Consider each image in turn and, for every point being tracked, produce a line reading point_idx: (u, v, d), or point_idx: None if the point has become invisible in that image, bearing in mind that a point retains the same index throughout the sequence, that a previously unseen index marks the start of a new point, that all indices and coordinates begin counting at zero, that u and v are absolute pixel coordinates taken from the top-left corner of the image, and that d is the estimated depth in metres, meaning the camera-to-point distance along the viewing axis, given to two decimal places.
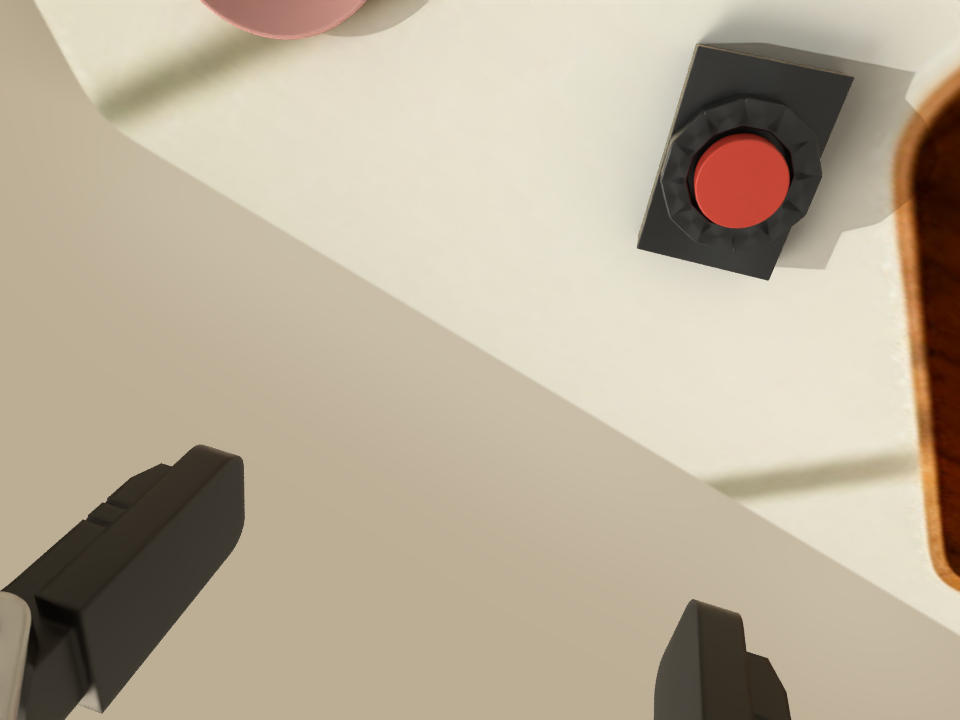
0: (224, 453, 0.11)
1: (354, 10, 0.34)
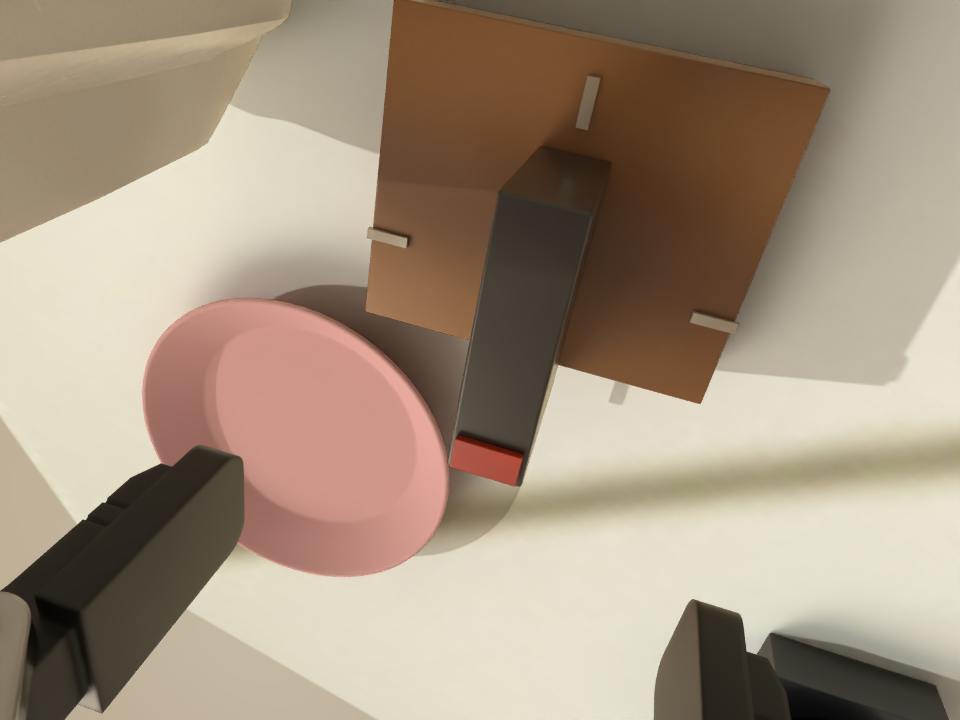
0: (224, 453, 0.11)
1: (387, 569, 0.30)
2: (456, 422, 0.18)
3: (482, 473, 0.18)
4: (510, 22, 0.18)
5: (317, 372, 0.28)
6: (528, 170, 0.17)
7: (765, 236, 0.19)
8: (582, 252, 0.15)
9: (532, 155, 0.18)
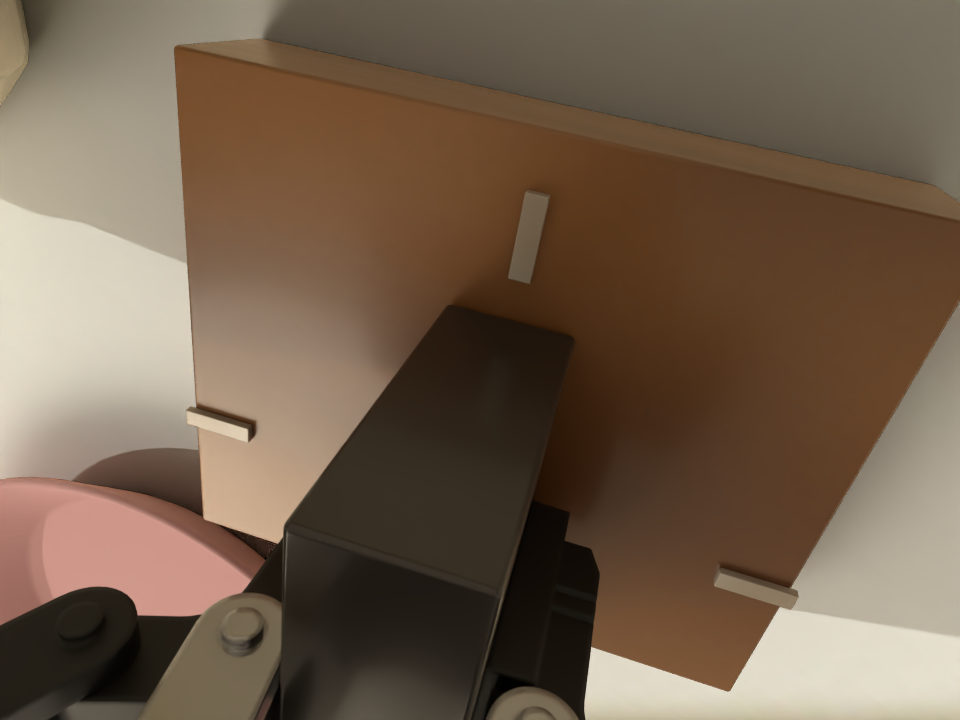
0: None
1: None
2: None
3: None
4: (381, 92, 0.10)
5: (173, 559, 0.20)
6: (393, 407, 0.08)
7: (852, 469, 0.11)
8: (484, 657, 0.06)
9: (421, 342, 0.10)
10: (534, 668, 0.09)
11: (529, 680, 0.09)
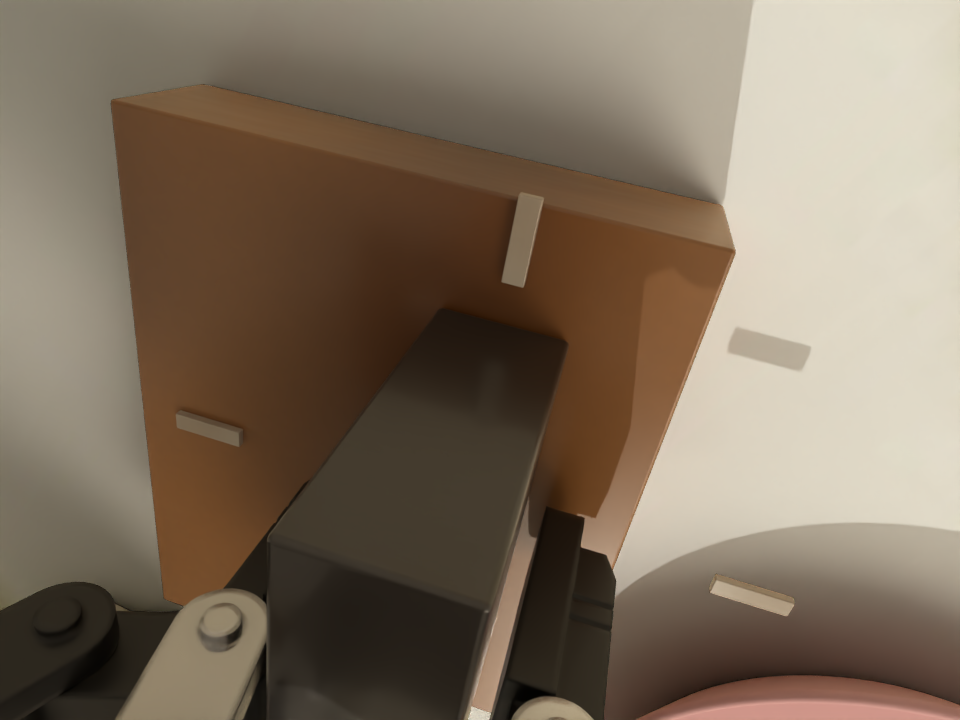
0: None
1: None
2: None
3: None
4: (154, 497, 0.15)
5: None
6: (383, 414, 0.08)
7: (345, 164, 0.10)
8: (473, 671, 0.06)
9: (412, 347, 0.09)
10: (554, 677, 0.09)
11: (549, 690, 0.08)
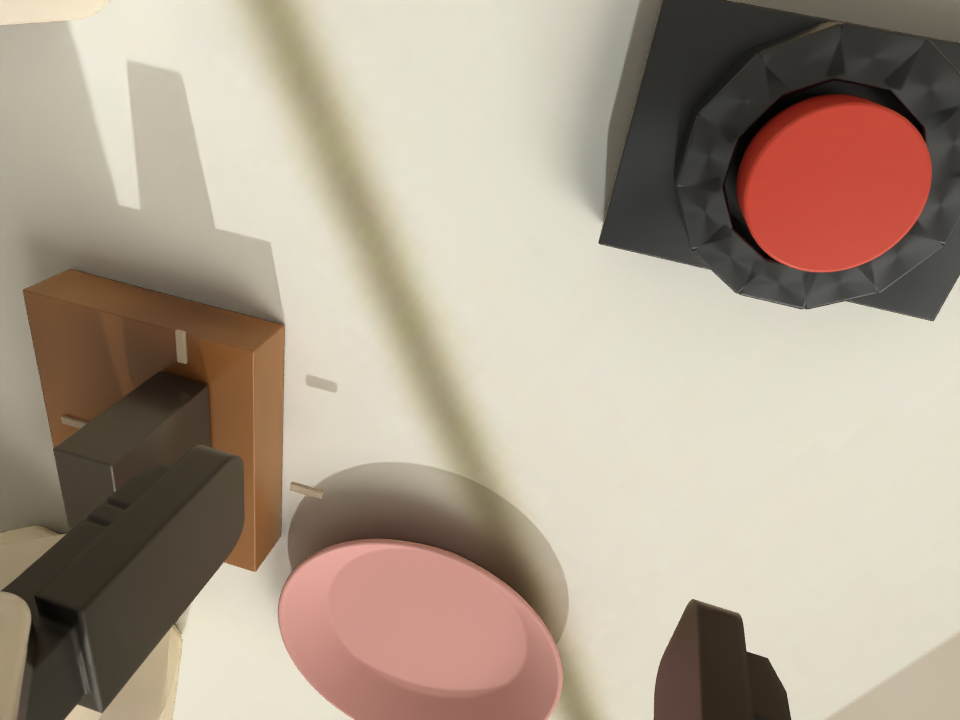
0: (224, 453, 0.11)
1: (535, 617, 0.29)
2: None
3: None
4: None
5: (364, 604, 0.34)
6: (108, 414, 0.24)
7: (114, 316, 0.26)
8: (114, 486, 0.22)
9: (134, 389, 0.25)
10: None
11: None
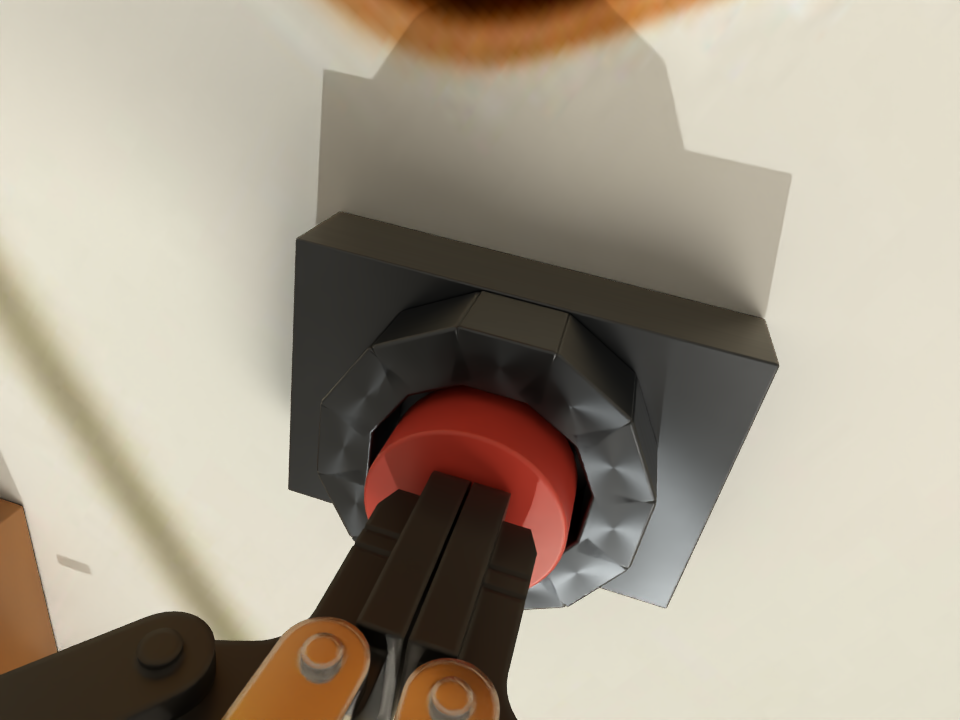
0: (460, 479, 0.12)
1: None
2: None
3: None
4: None
5: None
6: None
7: None
8: None
9: None
10: (457, 641, 0.09)
11: (451, 652, 0.09)
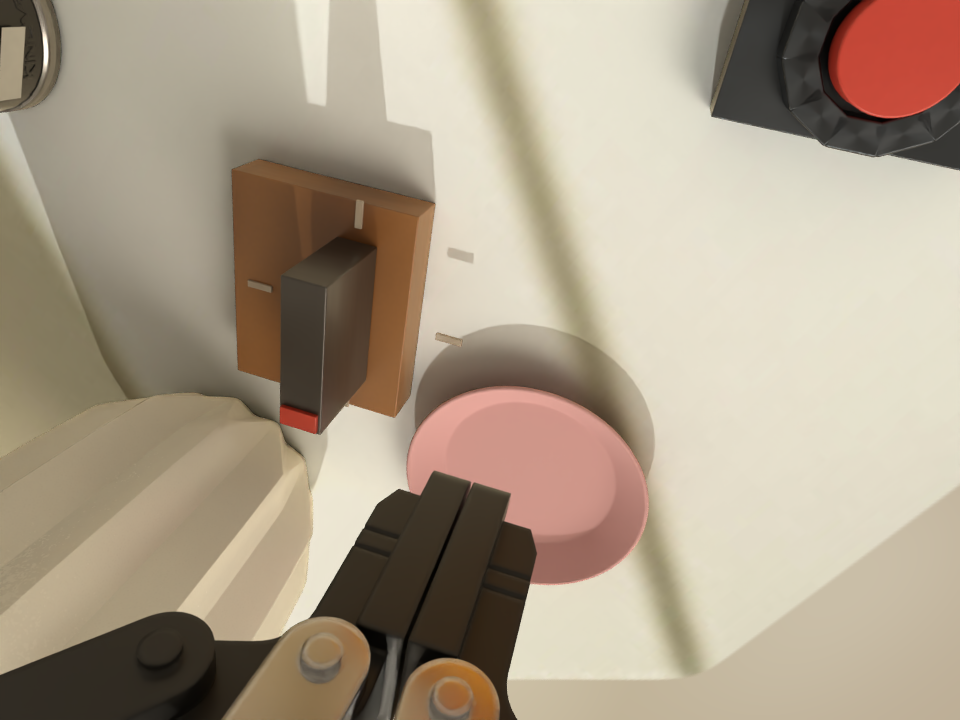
0: (460, 479, 0.12)
1: (630, 452, 0.35)
2: (280, 397, 0.32)
3: (297, 426, 0.32)
4: (236, 319, 0.37)
5: (476, 456, 0.40)
6: (311, 258, 0.30)
7: (305, 190, 0.33)
8: (325, 306, 0.29)
9: (324, 245, 0.32)
10: (457, 641, 0.09)
11: (451, 652, 0.09)
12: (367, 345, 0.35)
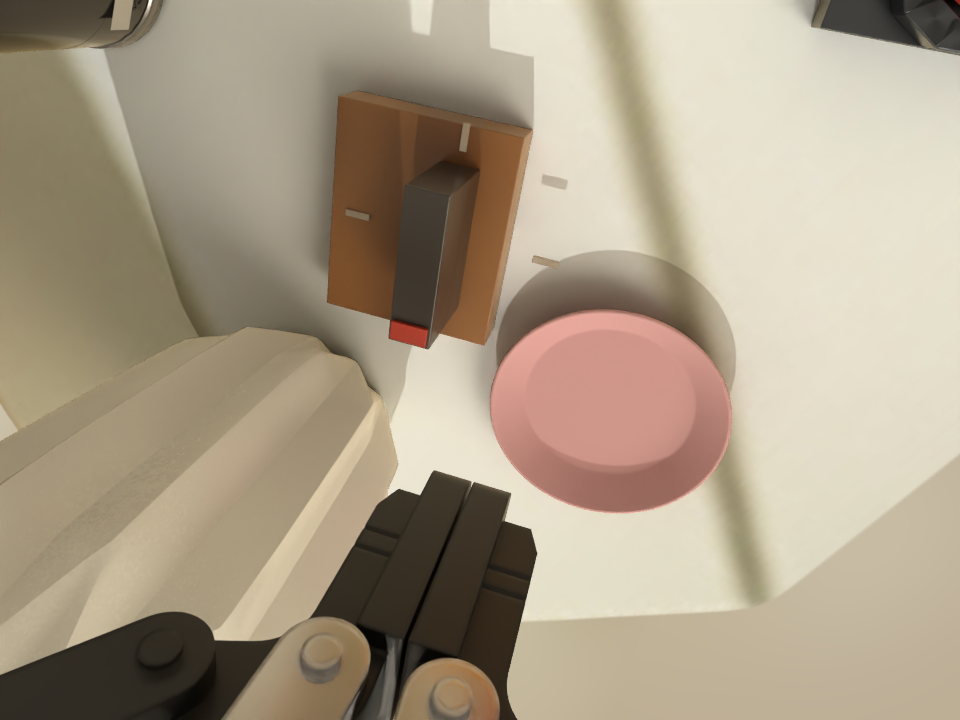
0: (460, 479, 0.12)
1: (717, 371, 0.37)
2: (392, 312, 0.33)
3: (407, 341, 0.33)
4: (330, 250, 0.39)
5: (557, 387, 0.42)
6: (426, 174, 0.32)
7: (412, 115, 0.34)
8: (447, 215, 0.30)
9: (432, 166, 0.33)
10: (457, 641, 0.09)
11: (451, 652, 0.09)
12: (463, 270, 0.37)
